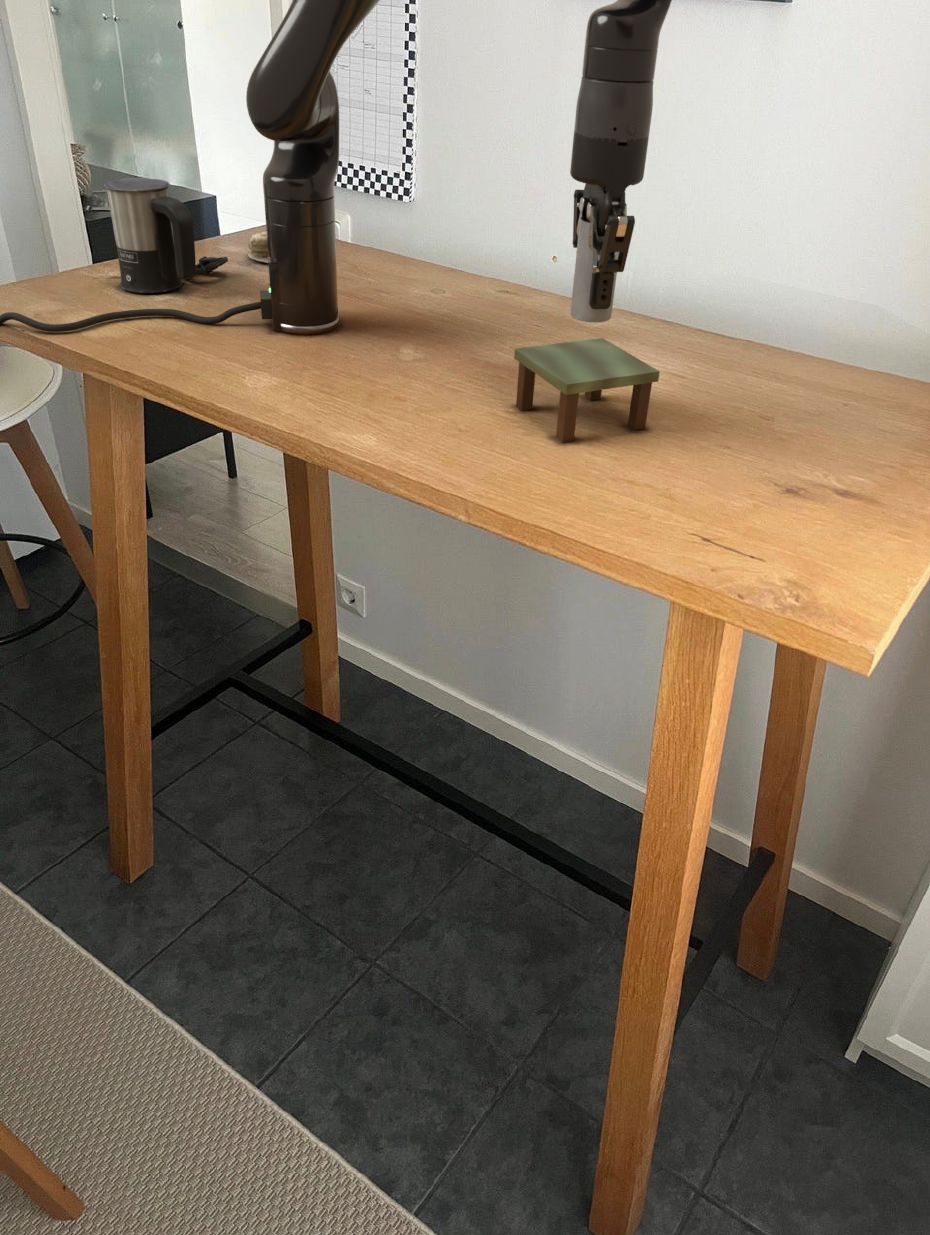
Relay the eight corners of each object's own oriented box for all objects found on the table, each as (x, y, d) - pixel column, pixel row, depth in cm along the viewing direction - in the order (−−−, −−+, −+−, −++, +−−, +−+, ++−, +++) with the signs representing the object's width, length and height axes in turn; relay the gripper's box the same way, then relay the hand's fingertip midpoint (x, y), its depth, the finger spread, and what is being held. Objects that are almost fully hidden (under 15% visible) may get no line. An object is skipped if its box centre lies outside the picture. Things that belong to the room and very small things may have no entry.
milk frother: (108, 291, 149) (91, 186, 140) (158, 265, 161) (145, 167, 153) (195, 301, 146) (183, 195, 138) (239, 274, 159) (230, 175, 151)
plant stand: (560, 445, 109) (567, 384, 105) (510, 405, 118) (514, 348, 114) (650, 429, 113) (659, 371, 109) (595, 393, 122) (602, 337, 118)
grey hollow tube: (567, 310, 111) (576, 213, 105) (606, 310, 111) (618, 214, 105) (574, 322, 107) (584, 223, 101) (614, 323, 107) (627, 224, 102)
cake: (267, 251, 174) (267, 218, 171) (317, 260, 171) (317, 227, 168) (235, 258, 166) (234, 224, 163) (286, 268, 163) (286, 233, 160)
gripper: (557, 118, 104) (543, 282, 113) (596, 141, 92) (577, 322, 102) (624, 119, 105) (605, 282, 114) (672, 142, 93) (646, 321, 103)
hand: (592, 300), depth 108 cm, fingers closed on grey hollow tube, 4 cm apart
